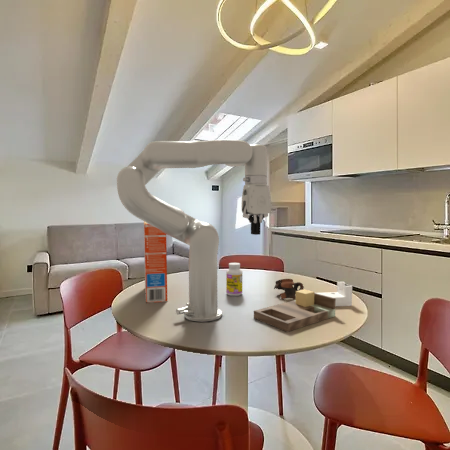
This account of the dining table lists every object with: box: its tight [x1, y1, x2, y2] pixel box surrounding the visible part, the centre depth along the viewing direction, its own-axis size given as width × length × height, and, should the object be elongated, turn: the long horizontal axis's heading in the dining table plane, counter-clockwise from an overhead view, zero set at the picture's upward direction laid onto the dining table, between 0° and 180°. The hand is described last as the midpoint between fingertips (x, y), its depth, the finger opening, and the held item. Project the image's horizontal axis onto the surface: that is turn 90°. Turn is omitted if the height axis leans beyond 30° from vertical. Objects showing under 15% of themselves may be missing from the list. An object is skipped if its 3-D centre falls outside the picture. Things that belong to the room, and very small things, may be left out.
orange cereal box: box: [143, 221, 168, 303], centre depth 143 cm, size 23×8×30 cm, turn 14°
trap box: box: [253, 288, 336, 333], centre depth 115 cm, size 23×15×6 cm, turn 126°
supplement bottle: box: [225, 262, 243, 297], centre depth 143 cm, size 7×7×13 cm
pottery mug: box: [273, 278, 305, 300], centre depth 140 cm, size 12×10×8 cm
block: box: [295, 288, 315, 307], centre depth 120 cm, size 4×4×4 cm
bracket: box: [316, 281, 353, 307], centre depth 130 cm, size 13×7×8 cm, turn 96°
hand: (255, 234), depth 120 cm, fingers closed
